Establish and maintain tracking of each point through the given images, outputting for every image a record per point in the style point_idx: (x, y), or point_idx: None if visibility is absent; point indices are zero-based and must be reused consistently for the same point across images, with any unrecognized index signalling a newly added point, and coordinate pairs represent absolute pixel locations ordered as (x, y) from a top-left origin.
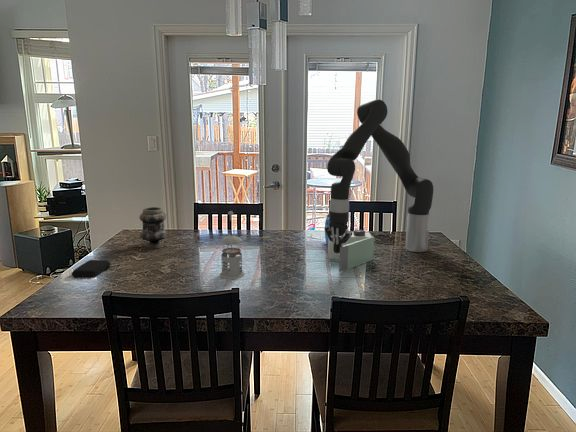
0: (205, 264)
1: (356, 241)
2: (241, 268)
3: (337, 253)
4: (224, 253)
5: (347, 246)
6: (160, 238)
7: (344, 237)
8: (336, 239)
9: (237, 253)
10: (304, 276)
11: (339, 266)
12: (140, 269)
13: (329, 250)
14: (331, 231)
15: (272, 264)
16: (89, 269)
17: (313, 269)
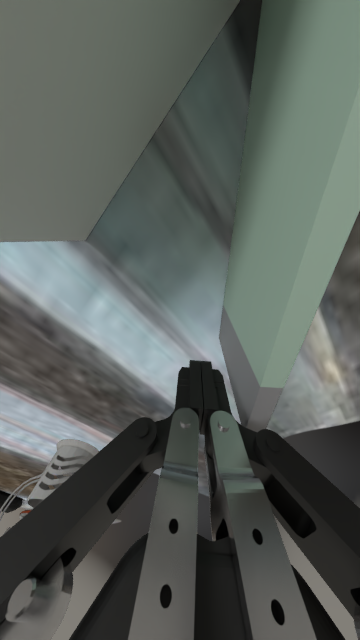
0: (10, 446)
1: (320, 209)
2: (72, 453)
3: (87, 202)
4: (32, 502)
5: (275, 389)
6: None
7: (338, 575)
8: (211, 489)
9: (37, 492)
10: (168, 403)
11: (222, 347)
12: (8, 480)
13: (52, 240)
14: (66, 544)
15: (56, 393)
16: (9, 510)
17: (144, 361)
